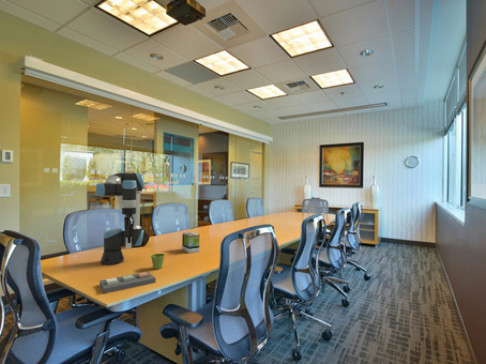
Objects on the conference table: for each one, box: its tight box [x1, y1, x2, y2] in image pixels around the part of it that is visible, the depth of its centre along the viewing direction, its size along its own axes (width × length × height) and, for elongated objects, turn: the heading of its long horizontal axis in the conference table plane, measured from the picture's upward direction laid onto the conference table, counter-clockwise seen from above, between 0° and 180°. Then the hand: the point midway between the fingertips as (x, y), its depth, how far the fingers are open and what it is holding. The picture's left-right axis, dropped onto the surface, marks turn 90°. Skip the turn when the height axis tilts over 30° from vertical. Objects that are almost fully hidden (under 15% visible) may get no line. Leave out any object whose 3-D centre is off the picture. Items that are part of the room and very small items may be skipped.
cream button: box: [106, 277, 118, 285], centre depth 149 cm, size 5×5×2 cm
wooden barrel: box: [138, 214, 150, 247], centre depth 245 cm, size 18×18×28 cm
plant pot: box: [150, 253, 166, 270], centre depth 183 cm, size 9×9×9 cm
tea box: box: [181, 231, 201, 254], centre depth 230 cm, size 15×10×15 cm
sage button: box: [122, 274, 134, 282], centre depth 154 cm, size 5×5×2 cm
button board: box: [99, 271, 157, 294], centre depth 154 cm, size 14×27×2 cm, turn 127°
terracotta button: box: [137, 271, 149, 279], centre depth 159 cm, size 5×5×2 cm
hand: (128, 248), depth 154 cm, fingers closed
